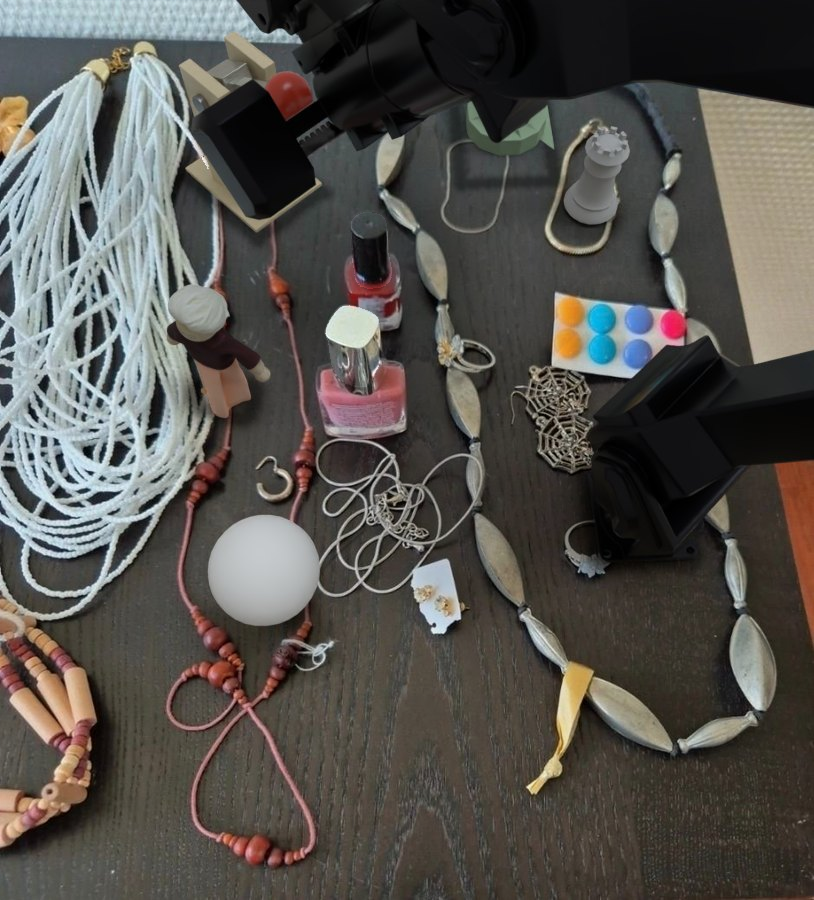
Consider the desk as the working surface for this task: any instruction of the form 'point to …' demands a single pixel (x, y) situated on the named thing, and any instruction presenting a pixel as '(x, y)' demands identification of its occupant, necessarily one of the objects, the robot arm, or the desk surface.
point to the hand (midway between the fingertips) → (296, 113)
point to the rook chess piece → (598, 178)
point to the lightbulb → (263, 570)
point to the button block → (514, 142)
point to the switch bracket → (209, 91)
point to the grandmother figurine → (213, 347)
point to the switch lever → (267, 85)
